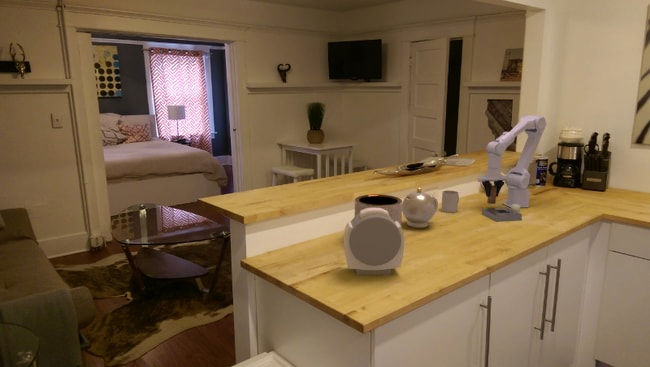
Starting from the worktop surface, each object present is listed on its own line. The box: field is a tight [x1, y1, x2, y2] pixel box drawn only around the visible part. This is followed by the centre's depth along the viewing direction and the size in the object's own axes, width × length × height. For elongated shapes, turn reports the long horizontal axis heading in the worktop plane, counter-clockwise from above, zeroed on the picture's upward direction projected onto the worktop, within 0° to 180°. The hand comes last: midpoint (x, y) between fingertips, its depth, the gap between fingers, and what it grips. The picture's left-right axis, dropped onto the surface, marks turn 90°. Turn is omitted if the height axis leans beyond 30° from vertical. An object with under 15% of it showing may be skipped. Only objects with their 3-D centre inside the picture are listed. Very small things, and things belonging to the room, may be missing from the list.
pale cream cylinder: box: [510, 204, 521, 214], centre depth 201 cm, size 4×4×4 cm
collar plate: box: [481, 206, 523, 222], centre depth 196 cm, size 12×12×2 cm
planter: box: [353, 193, 403, 228], centre depth 165 cm, size 18×18×16 cm
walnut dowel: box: [487, 184, 497, 205], centre depth 207 cm, size 4×4×8 cm
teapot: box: [402, 186, 439, 229], centre depth 183 cm, size 18×14×16 cm
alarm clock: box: [343, 208, 406, 276], centre depth 136 cm, size 18×8×20 cm, turn 92°
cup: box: [441, 190, 460, 214], centre depth 206 cm, size 7×10×9 cm
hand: (491, 196), depth 207 cm, fingers closed on walnut dowel, 4 cm apart
